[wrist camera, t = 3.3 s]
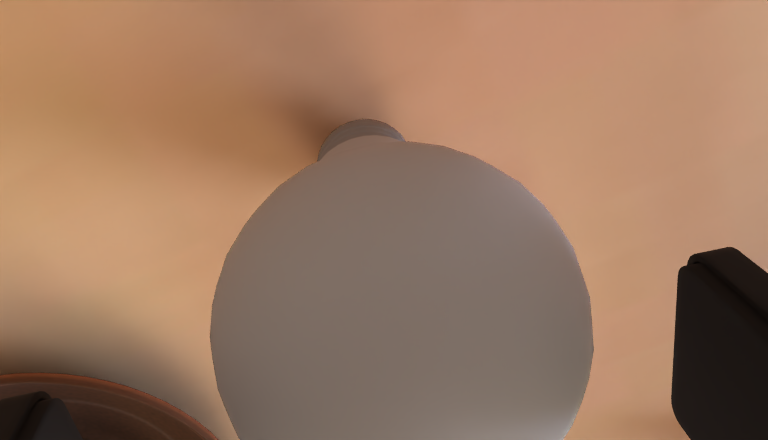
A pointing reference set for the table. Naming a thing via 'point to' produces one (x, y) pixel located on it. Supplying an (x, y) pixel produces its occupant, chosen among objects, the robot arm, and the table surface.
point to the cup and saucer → (109, 408)
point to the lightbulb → (401, 302)
